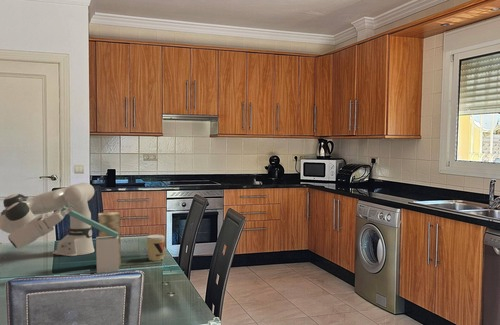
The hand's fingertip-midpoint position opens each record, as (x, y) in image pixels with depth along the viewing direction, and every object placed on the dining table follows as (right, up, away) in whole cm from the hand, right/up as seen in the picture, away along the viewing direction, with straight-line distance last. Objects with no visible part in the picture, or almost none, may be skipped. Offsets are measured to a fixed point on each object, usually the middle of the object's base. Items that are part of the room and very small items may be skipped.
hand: (72, 207), depth 209 cm
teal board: (+7, -8, +2) cm, 11 cm away
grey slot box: (+15, -31, +6) cm, 35 cm away
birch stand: (+12, -31, +17) cm, 37 cm away
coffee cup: (+33, -30, +29) cm, 53 cm away
